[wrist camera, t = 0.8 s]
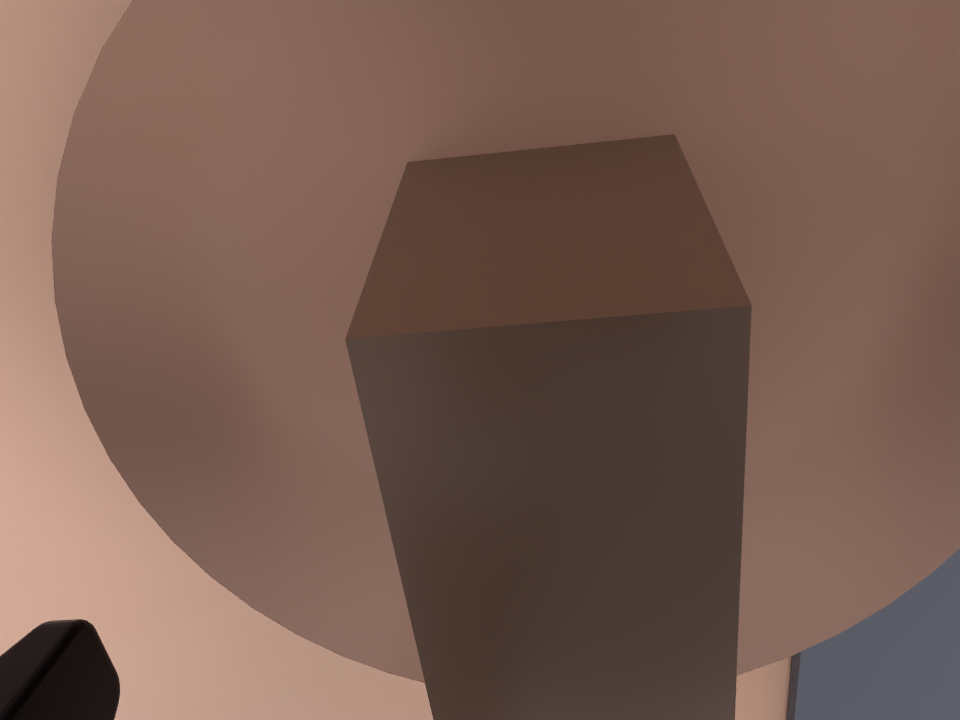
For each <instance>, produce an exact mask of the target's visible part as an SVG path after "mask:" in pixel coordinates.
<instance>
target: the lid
mask: <svg viewBox="0 0 960 720" xmlns="http://www.w3.org/2000/svg"><path fill="white" fill-rule="evenodd" d="M52 256H53V274H54V293H55V303H56V308H57V313H58V318H59V323H60V328H61V333H62V338H63V343H64V348H65V353H66V357H67V360H68V363H69V366H70V369H71V372H72V374H73V377H74V380H75V383H76V386H77V389H78V392H79V394H80V397H81V400H82V403H83V406H84V409H85V411H86V413H87V415H88V417H89V419H90V421H91V423H92V425H93V427H94V429H95V431H96V433H97V435H98V437H99V439H100V441H101V442H102V444H103V446H104V448H105V450H106V452H107V454H108V456H109V458H110V460H111V461H112V463H113V464H114V466H115V467H116V469H117V470H118V472H119V473H120V475H121V476H122V478H123V479H124V480H125V482H126V483H127V485H128V486H129V488H130V489H131V491H132V492H133V494H134V495H135V497H136V498H137V500H138V501H139V503H140V504H141V505H142V506H143V507H144V508H145V510H146V511H147V512H148V513H149V514H150V515H151V517H152V518H153V519H154V520H155V521H156V522H157V524H158V525H159V526H160V527H161V528H162V529H163V530H164V532H165V533H166V534H167V535H168V536H169V537H170V539H171V540H172V541H173V542H174V543H175V544H176V545H177V546H178V547H179V548H180V549H182V550H183V551H184V552H185V553H186V554H187V555H188V556H189V557H190V558H191V559H192V560H193V561H194V562H196V563H197V564H198V565H199V566H200V567H201V568H202V569H203V570H204V571H205V572H206V573H207V574H209V575H210V576H211V577H212V578H213V579H214V580H216V581H217V582H218V583H220V584H221V585H222V586H224V587H225V588H227V589H228V590H229V591H231V592H232V593H233V594H235V595H236V596H237V597H239V598H240V599H241V600H243V601H244V602H245V603H247V604H248V605H249V606H251V607H252V608H253V609H255V610H257V611H258V612H260V613H262V614H263V615H265V616H267V617H268V618H270V619H272V620H273V621H275V622H277V623H278V624H280V625H282V626H283V627H285V628H287V629H288V630H290V631H292V632H293V633H295V634H297V635H299V636H301V637H303V638H305V639H307V640H310V641H312V642H314V643H316V644H318V645H320V646H322V647H324V648H326V649H328V650H331V651H333V652H335V653H337V654H339V655H341V656H344V657H346V658H349V659H352V660H354V661H357V662H360V663H363V664H365V665H368V666H371V667H373V668H376V669H379V670H382V671H384V672H387V673H390V674H394V675H398V676H401V677H405V678H409V679H412V680H416V681H420V682H424V683H425V685H426V689H427V693H428V698H429V702H430V706H431V710H432V715H433V719H434V720H735V698H736V675H739V674H742V673H745V672H748V671H751V670H753V669H756V668H759V667H762V666H765V665H767V664H770V663H773V662H776V661H779V660H782V659H784V658H787V657H790V656H792V655H795V654H797V653H799V652H801V651H803V650H805V649H807V648H810V647H812V646H814V645H816V644H818V643H820V642H823V641H825V640H827V639H829V638H831V637H833V636H835V635H838V634H840V633H842V632H843V631H845V630H847V629H848V628H850V627H852V626H854V625H855V624H857V623H859V622H860V621H862V620H864V619H865V618H867V617H869V616H871V615H872V614H874V613H876V612H877V611H879V610H881V609H883V608H884V607H886V606H888V605H889V604H890V603H892V602H893V601H894V600H896V599H897V598H899V597H900V596H901V595H903V594H904V593H905V592H907V591H908V590H909V589H911V588H912V587H914V586H915V585H916V584H918V583H919V582H920V581H922V580H923V579H925V578H926V577H927V576H929V575H930V574H931V573H933V572H934V571H935V570H936V569H937V568H938V567H939V566H940V565H941V564H943V563H944V562H945V561H946V560H947V559H948V558H949V557H950V556H951V555H953V554H954V553H955V552H956V551H957V550H958V549H959V548H960V0H133V1H132V3H131V4H130V6H129V7H128V9H127V11H126V12H125V14H124V15H123V17H122V18H121V20H120V22H119V23H118V25H117V26H116V28H115V29H114V31H113V33H112V34H111V36H110V37H109V39H108V40H107V42H106V44H105V45H104V47H103V48H102V50H101V52H100V55H99V57H98V59H97V62H96V64H95V66H94V69H93V71H92V73H91V76H90V78H89V80H88V82H87V85H86V87H85V89H84V92H83V94H82V96H81V99H80V101H79V103H78V106H77V108H76V110H75V113H74V116H73V120H72V124H71V128H70V131H69V135H68V139H67V143H66V147H65V151H64V155H63V159H62V163H61V167H60V170H59V174H58V180H57V190H56V200H55V211H54V221H53V231H52Z"/></svg>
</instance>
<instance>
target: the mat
mask: <svg viewBox="0 0 960 720" xmlns="http://www.w3.org/2000/svg"><path fill="white" fill-rule="evenodd" d="M787 720H960V548H959V549H958V550H957V551H956V552H955V553H954V554H953V555H951V556H950V557H949V558H948V559H947V560H946V561H945V562H944V563H943V564H941V565H940V566H939V567H938V568H937V569H936V570H935V571H934V572H933V573H931V574H930V575H929V576H927V577H926V578H925V579H923V580H922V581H920V582H919V583H918V584H916V585H915V586H914V587H912V588H911V589H909V590H908V591H907V592H905V593H904V594H903V595H901V596H900V597H899V598H897V599H896V600H894V601H893V602H892V603H890V604H889V605H888V606H886V607H884V608H883V609H881V610H879V611H877V612H876V613H874V614H872V615H871V616H869V617H867V618H865V619H864V620H862V621H860V622H859V623H857V624H855V625H854V626H852V627H850V628H848V629H847V630H845V631H843V632H842V633H840V634H838V635H835V636H833V637H831V638H829V639H827V640H825V641H823V642H820V643H818V644H816V645H814V646H812V647H810V648H807V649H805V650H803V651H801V652H799V653H797V654H795V655H792V666H791V677H790V688H789V699H788V711H787Z"/></svg>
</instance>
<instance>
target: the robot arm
mask: <svg viewBox="0 0 960 720" xmlns="http://www.w3.org/2000/svg"><path fill="white" fill-rule="evenodd" d="M119 696H120V683H119V678H118V674H117V672H116V670H115V668H114V666H113V664H112V662H111V660H110V658H109V656H108V654H107V651H106V649H105V647H104V645H103V643H102V641H101V639H100V637H99V635H98V633H97V631H96V629H95V628H94V626H93V625H92V624H91V623H89V622H88V621H86V620H82V619H77V620H58V621H48V622H45V623H43V624H41V625H39V626H38V627H36V628H35V629H33V630H32V631H31V632H30V633H28V634H27V635H26V636H25V637H23V638H22V639H21V640H20V641H18V642H17V643H16V644H15V645H14V646H12V647H11V648H10V649H9V650H7V651H6V652H5V653H4V654H2V655H1V656H0V720H114V719H115V715H116V711H117V707H118V702H119Z"/></svg>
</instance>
